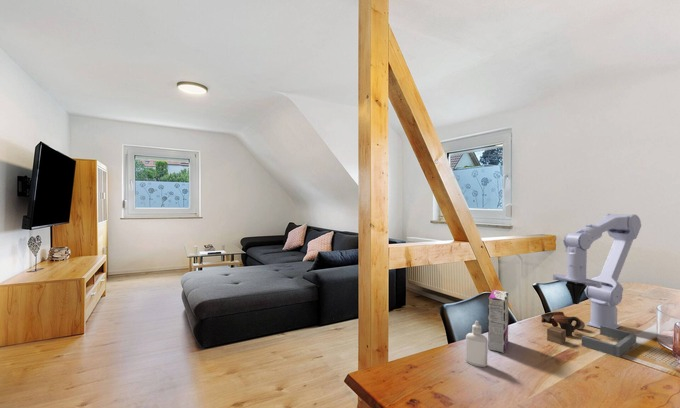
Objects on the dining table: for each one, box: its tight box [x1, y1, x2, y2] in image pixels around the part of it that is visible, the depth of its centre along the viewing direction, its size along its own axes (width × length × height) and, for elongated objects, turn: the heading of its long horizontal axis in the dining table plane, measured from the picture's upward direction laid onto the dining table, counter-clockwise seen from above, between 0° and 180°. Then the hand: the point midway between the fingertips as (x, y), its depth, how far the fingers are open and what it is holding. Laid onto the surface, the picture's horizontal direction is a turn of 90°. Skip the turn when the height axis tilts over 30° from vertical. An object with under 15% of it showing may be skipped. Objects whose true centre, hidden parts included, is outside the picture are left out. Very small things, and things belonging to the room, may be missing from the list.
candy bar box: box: [487, 289, 509, 354], centre depth 105 cm, size 11×5×16 cm, turn 148°
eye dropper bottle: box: [464, 320, 488, 368], centre depth 92 cm, size 4×6×12 cm
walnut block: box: [546, 325, 567, 345], centre depth 109 cm, size 4×4×4 cm
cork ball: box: [572, 319, 586, 330], centre depth 120 cm, size 4×4×4 cm
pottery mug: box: [540, 311, 581, 337], centre depth 117 cm, size 12×10×8 cm
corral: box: [581, 325, 637, 358], centre depth 107 cm, size 18×9×3 cm, turn 125°
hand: (575, 303), depth 118 cm, fingers closed
